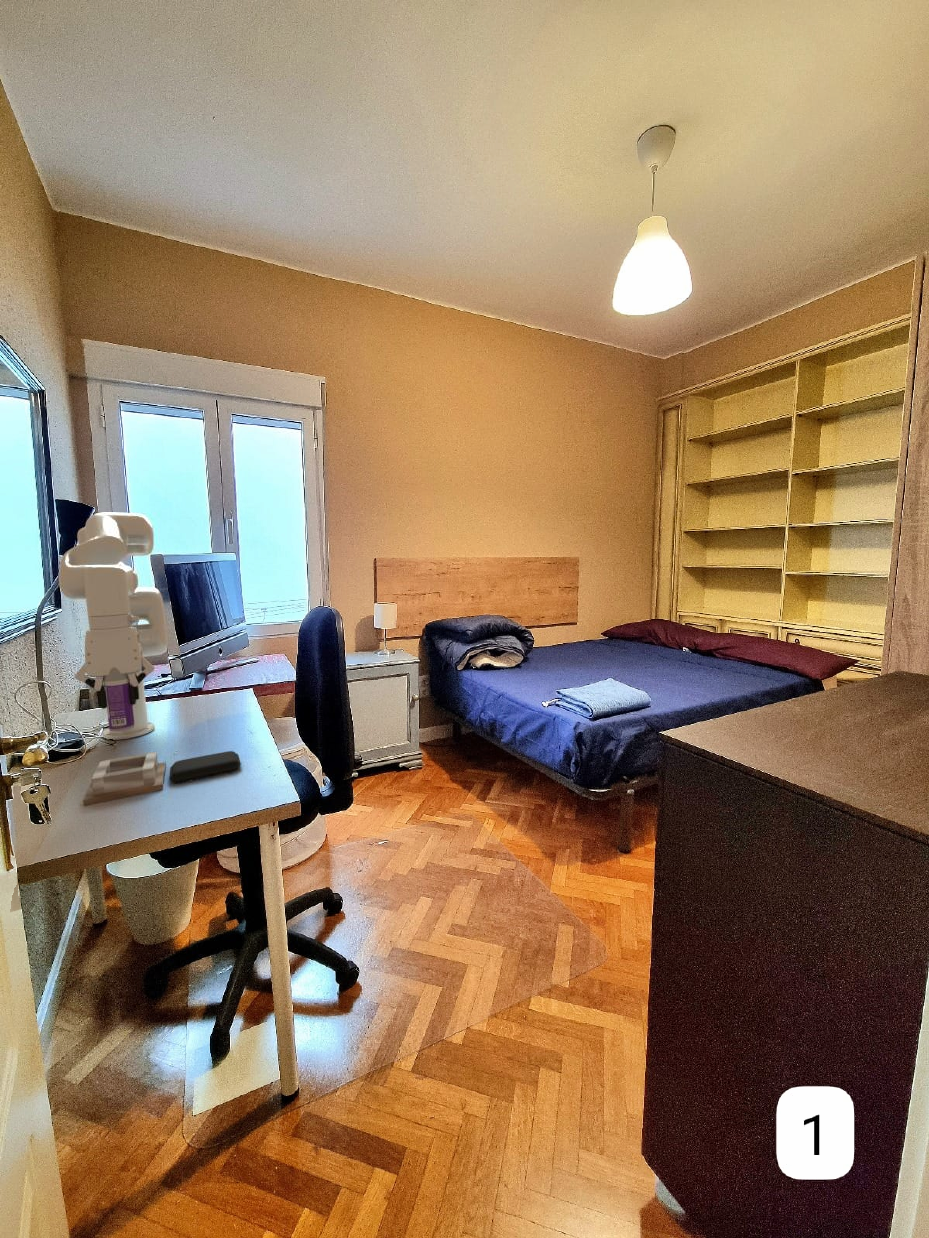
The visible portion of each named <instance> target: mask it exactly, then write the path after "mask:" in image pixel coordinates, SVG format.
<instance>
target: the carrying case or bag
mask: <svg viewBox="0 0 929 1238" xmlns="http://www.w3.org/2000/svg"><path fill="white" fill-rule="evenodd" d="M241 765H242V764H241V760H240V757H239V754H238V753H236V752H235V751H233V750H229V751H222V752H217V753H213V754H212V753H211V754H205V755H200V756H196V757H195V756H194V757H191V758H186V759H181V760H177V761H175V762H174V763H172V765H171V766H170V768H169V781H171V782H173V783H174V784H182V782H183V783H188V782H191V781H190V780H193V781H198V780H202V778H203V779H207V778H206V777H208V778H212V777H216V776H222V775H226V774H225V773H227V774H231V773H234V771H235V772H237V771H238V770H239V769H240V767H241ZM236 770H237V771H236ZM187 781H188V782H187Z"/></svg>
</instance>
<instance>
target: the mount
mask: <svg viewBox="0 0 929 1238" xmlns="http://www.w3.org/2000/svg"><path fill="white" fill-rule="evenodd" d="M158 759H159V758H158V751H153V752H147V753H141V754H136V755H129V756H123V757H118V758H112V759H107V760H105V759H104V760H101V761H99V763H98V766H96V767H97V768H96V769H95V771H94V773H93V775H92V778H91V783H90V786H89V787H88V789H87V791H86V793H85V796H84V797H83V800H82V801H83V806H88V804H89V805H93V804H98V803H103V801H104V802H108V801H113V800H118V799H124V798H128V797H132V796H137V795H142V794H143V795H144V794H148V793H153V792H157V790H158V791H162V790H163V789H164V785H163V784H165V776H166V772H167V762H166V761H165V762H160V763H159V761H158Z"/></svg>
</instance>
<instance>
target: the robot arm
mask: <svg viewBox="0 0 929 1238" xmlns="http://www.w3.org/2000/svg"><path fill="white" fill-rule="evenodd" d="M154 535H155V534H154V529H153V525H152V523H151V521H150V520H149V518H148V517H147V516H146V515H143V514H141V513H134V512H129V513H128V512H99V513H94V514H93V515H90V517H89V518H88V519H87V520H86V522H85V526H84V527H82V528H80V529H79V530H78V531H77V537H76V538H77V542H78V545H76V546H74V547H72V548H70V549H69V550H67V551H66V552H65V553H64V554H63V555H62V557H61V559H60V564H59V571H58V585H59V589H60V591H61V593H62V594H63V596H64V597H66V598H68V599H70V600H85V602H86V610H87V618H88V626H89V630H88V629H87V630H86V631H85V637H84V664H82V666H81V667H80V669H78V671H77V673H76V674H75V675H74V679H75V680H77V681H79V682H81V683H84V684H86V686H89V687H90V688H92V689H93V690H94V691H96V696H97V697H96V698H97V704H98V705H101V709H102V710H105V709H107V706H106V697H105V688H104V676H107V675H108V674H109V672H110V670H111V668H113V667H115V668H117V669H118V670H119V671H120V673H121V674H127V675H128V677H129V679H130V688H129V689H130V698H131V704H132V705H133V714H134V724H135V726H134V727H133V728H130V729H127V730H123V731H110V730H109V728H108V729H106V730H104V732H103V733H102V735H103V738H104V739H105V738H106V740H109V739H113V740H114V741H116V740H127V739H131V738H136V737H137V738H138V737H140V736H144V735H146V734H148V733H150V732H152V731H153V730H155V724H154V723H153V722H149V721H148V711H147V701H146V692H145V683H144V682H145V681H144V679H145V678H147V677H148V676H149V675H150V674H152V673H153V672H155V669H156V667H155V666H154V665H153V664H152V663H151V662H150V661H148V660H147V658H146V657H153V656H160V655H162V654H164V653H166V652H167V650H168V645H169V641H168V640H169V639H168V631H167V629H168V628H167V622H166V613H165V605H164V599H163V596H162V594H161V591H160V590H159V589H157V588H155V587H151V586H150V587H148V586H145V587H138V586H139V578H138V574H137V573H136V571H134V569H133V568H132V567H130V566H129V565H127V564H124V563H123V562H124V561H125V559H126V557H135V556H136V557H138V556H139V557H140V556H143V557H144V556H149V555H150V554H152V552H153V549H154V546H155V545H154V539H155V538H154ZM141 620H143V621H147V622H148V623H145V624H135V623H139V622H140V621H141ZM143 667H144V668H145V669H144V670H142V668H143ZM94 678H95V679H94Z"/></svg>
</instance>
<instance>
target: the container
mask: <svg viewBox="0 0 929 1238" xmlns="http://www.w3.org/2000/svg"><path fill="white" fill-rule="evenodd" d="M103 685H104V688H105V697H106V706H107V707H106V713H107V722H108V723H107V724H108V729H109V730H110V731H123V730H127V729H130V728H133V727H134V726H135V724H134V714H133V705H132V704H131V698H130V689H129V688H130V679H129V677H128V675H127V674H121V673H120V671H119V670H118V669H117V668H115V667H113V668H111V670H110V672H109V674H108V675H107V676H104V683H103Z"/></svg>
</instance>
